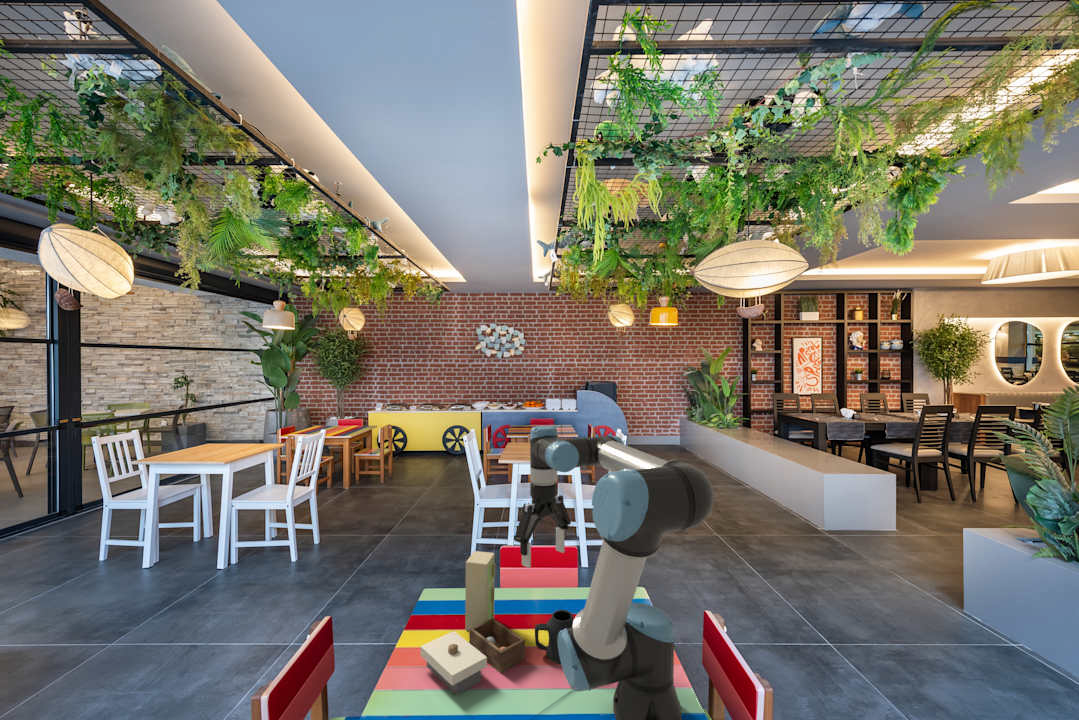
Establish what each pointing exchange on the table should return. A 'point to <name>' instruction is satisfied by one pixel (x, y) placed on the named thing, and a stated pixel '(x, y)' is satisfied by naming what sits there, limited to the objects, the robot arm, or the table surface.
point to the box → (498, 644)
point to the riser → (460, 685)
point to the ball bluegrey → (491, 640)
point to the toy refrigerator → (479, 588)
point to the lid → (453, 657)
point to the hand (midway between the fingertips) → (543, 558)
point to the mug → (554, 633)
